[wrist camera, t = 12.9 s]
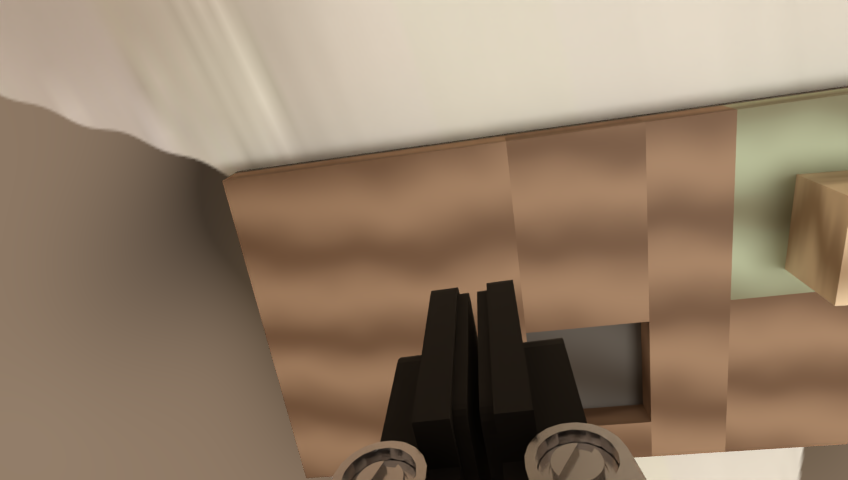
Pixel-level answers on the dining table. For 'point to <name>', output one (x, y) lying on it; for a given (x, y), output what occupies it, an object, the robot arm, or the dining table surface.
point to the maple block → (820, 234)
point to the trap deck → (565, 272)
